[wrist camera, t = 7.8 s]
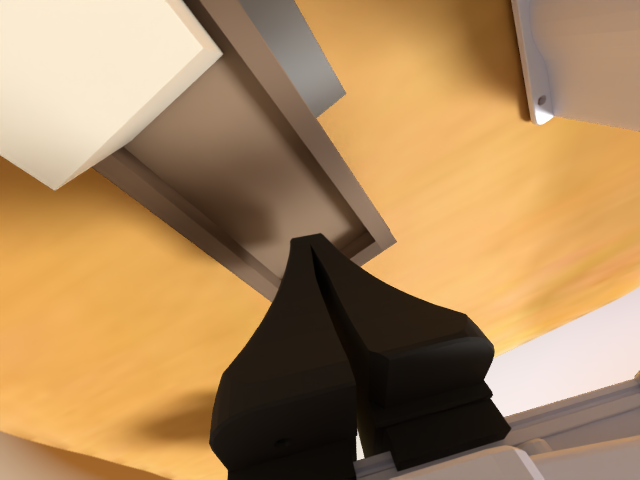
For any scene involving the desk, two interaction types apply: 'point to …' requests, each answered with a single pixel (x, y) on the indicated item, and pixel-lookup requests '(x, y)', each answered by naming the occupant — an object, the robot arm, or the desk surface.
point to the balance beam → (252, 150)
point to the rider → (90, 77)
